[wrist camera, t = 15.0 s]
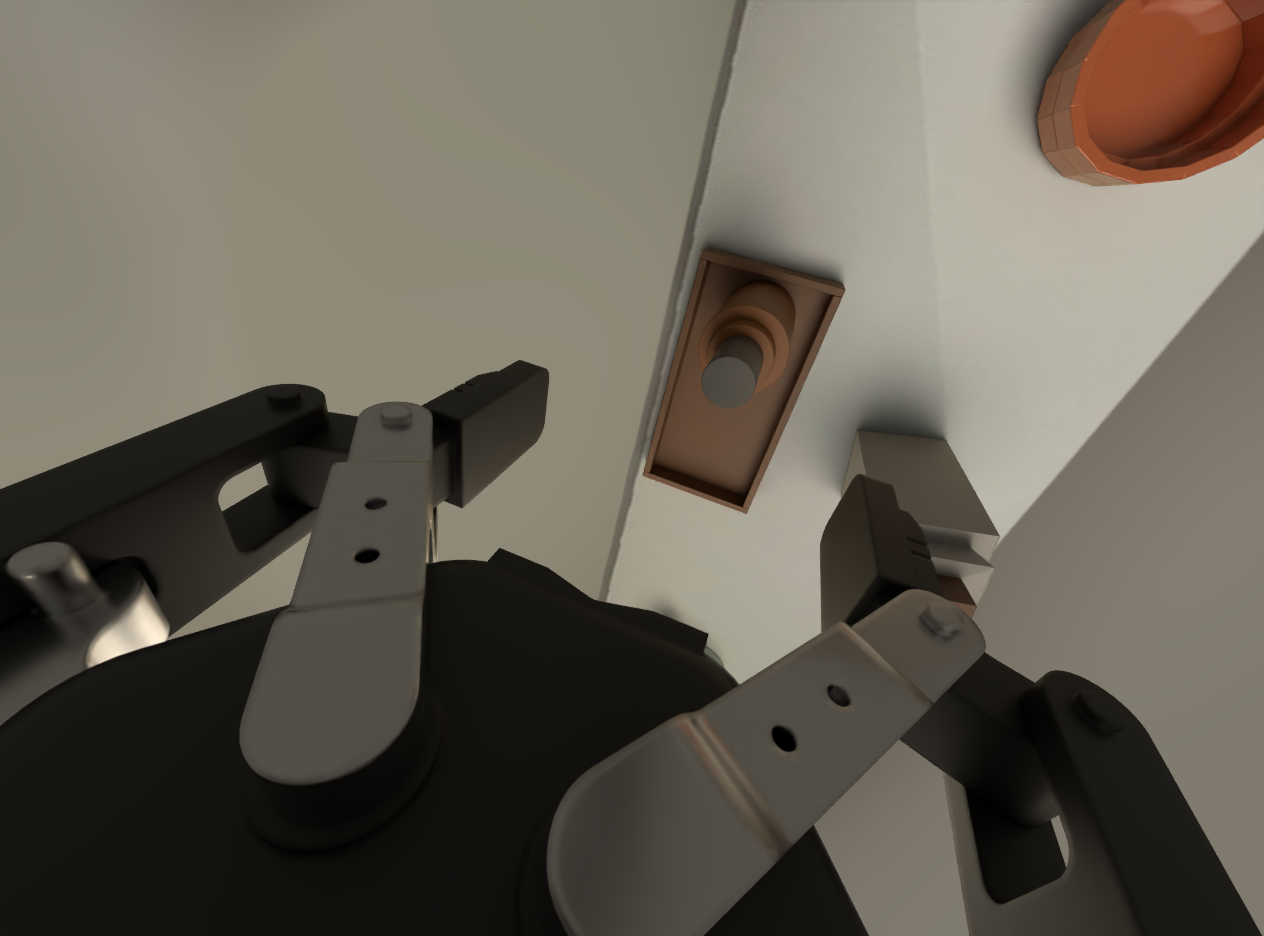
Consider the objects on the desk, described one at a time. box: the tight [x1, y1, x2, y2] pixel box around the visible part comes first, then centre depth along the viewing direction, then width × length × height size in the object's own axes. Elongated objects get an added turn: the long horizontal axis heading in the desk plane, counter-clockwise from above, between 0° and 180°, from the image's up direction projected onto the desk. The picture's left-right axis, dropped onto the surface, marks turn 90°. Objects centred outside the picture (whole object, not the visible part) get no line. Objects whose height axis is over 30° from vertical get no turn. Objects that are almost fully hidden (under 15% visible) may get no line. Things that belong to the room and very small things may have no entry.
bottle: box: [698, 280, 796, 408], centre depth 31 cm, size 6×6×17 cm
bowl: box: [1037, 0, 1264, 186], centre depth 24 cm, size 10×10×5 cm
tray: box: [643, 247, 845, 514], centre depth 41 cm, size 21×11×3 cm, turn 168°
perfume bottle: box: [841, 430, 1000, 618], centre depth 34 cm, size 7×7×18 cm
